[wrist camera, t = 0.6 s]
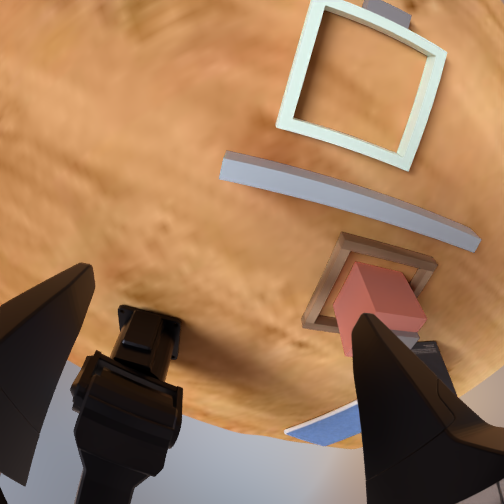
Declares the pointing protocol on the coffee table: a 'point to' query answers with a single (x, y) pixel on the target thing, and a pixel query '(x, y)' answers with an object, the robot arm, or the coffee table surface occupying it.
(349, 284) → the block
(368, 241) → the frame
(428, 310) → the coffee table surface
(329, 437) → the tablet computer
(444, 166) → the coffee table surface
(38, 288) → the robot arm
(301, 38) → the socket
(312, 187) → the door edge rail
